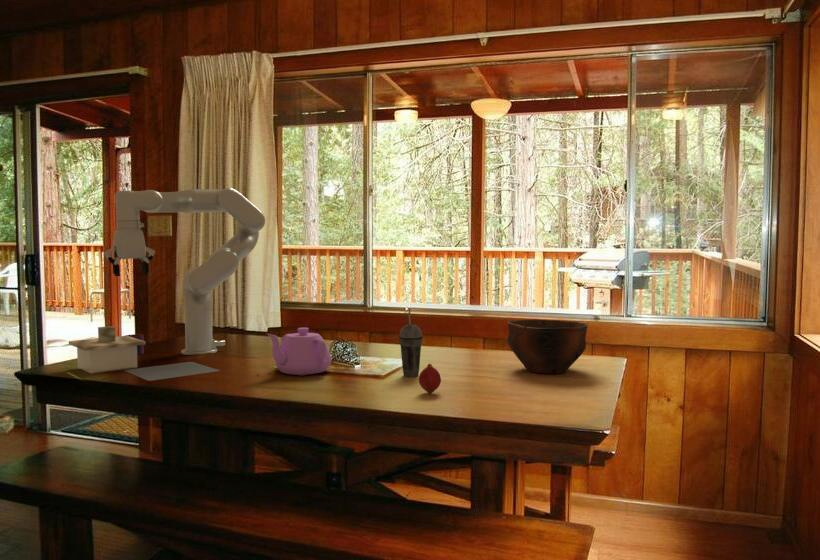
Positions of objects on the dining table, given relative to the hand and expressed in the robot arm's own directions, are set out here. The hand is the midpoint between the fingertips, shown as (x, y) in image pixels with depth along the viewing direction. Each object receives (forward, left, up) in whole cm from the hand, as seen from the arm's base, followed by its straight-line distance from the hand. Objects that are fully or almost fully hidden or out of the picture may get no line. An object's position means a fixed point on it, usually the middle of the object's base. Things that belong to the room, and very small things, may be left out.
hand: (131, 275), depth 227 cm
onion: (-39, +112, -30) cm, 122 cm away
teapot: (-28, +64, -30) cm, 75 cm away
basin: (+13, +16, -29) cm, 36 cm away
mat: (0, +36, -29) cm, 46 cm away
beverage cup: (-51, +91, -30) cm, 108 cm away
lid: (+13, +16, -21) cm, 30 cm away
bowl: (-87, +114, -30) cm, 146 cm away
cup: (-2, -8, -30) cm, 31 cm away
